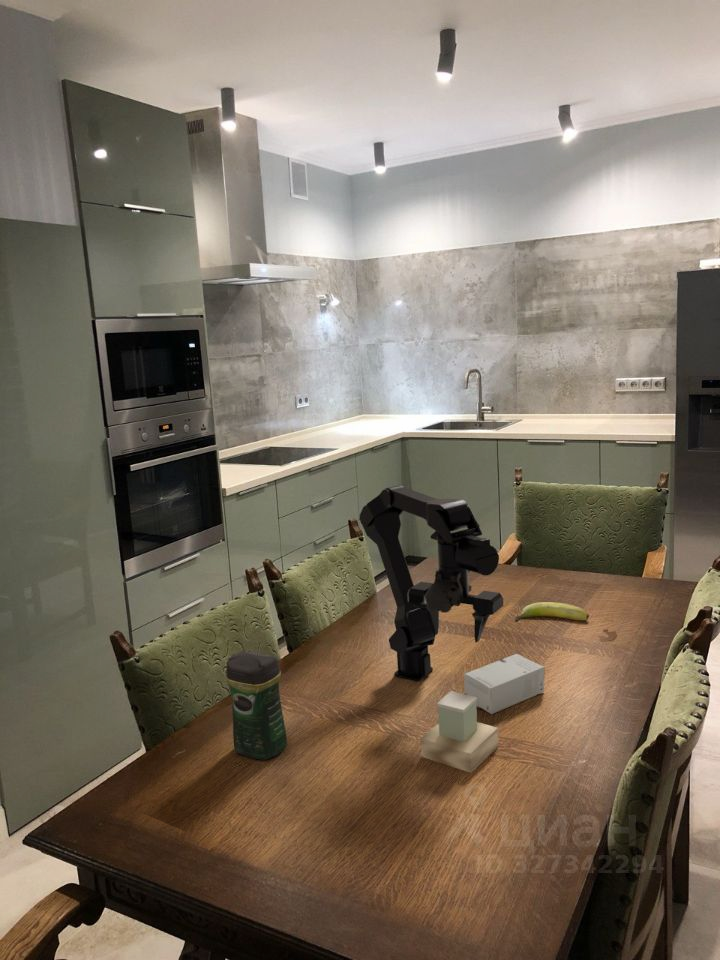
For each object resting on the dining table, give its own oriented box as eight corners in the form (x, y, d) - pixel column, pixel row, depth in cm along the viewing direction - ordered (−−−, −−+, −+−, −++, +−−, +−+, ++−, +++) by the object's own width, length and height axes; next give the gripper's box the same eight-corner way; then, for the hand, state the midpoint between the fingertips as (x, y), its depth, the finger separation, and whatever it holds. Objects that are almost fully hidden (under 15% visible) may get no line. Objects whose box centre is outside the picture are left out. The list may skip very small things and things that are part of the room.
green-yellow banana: (627, 606, 203) (627, 592, 203) (619, 648, 179) (619, 632, 178) (495, 597, 217) (495, 583, 216) (470, 634, 192) (470, 619, 192)
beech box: (421, 758, 138) (420, 738, 137) (450, 733, 146) (449, 714, 145) (471, 775, 132) (470, 753, 131) (498, 748, 140) (497, 727, 139)
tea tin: (438, 735, 138) (437, 703, 137) (452, 722, 142) (450, 691, 141) (464, 742, 135) (463, 709, 134) (478, 729, 139) (476, 697, 138)
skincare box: (545, 666, 157) (491, 687, 149) (545, 693, 159) (491, 716, 151) (515, 652, 164) (462, 672, 156) (515, 678, 166) (462, 699, 157)
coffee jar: (294, 744, 145) (286, 651, 142) (268, 765, 139) (259, 668, 135) (253, 733, 150) (245, 643, 147) (227, 753, 144) (217, 659, 140)
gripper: (391, 570, 152) (396, 645, 155) (479, 581, 142) (482, 661, 145) (419, 554, 161) (422, 625, 164) (503, 564, 151) (505, 640, 154)
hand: (456, 638), depth 156 cm, fingers open, 9 cm apart
